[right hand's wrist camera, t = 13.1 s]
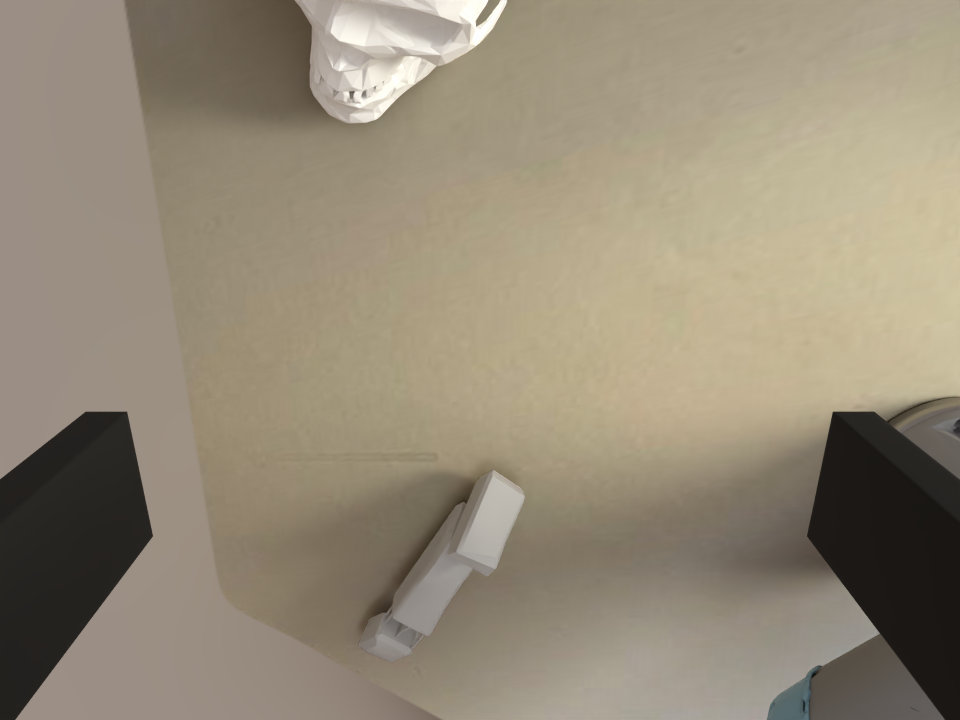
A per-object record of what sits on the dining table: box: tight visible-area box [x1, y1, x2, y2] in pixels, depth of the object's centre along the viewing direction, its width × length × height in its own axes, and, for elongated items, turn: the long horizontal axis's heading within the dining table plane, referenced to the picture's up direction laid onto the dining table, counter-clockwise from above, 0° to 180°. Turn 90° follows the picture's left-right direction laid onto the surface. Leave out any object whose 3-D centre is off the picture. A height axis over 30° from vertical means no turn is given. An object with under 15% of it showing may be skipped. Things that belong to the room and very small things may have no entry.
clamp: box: [359, 470, 525, 662], centre depth 53 cm, size 20×4×7 cm, turn 147°
